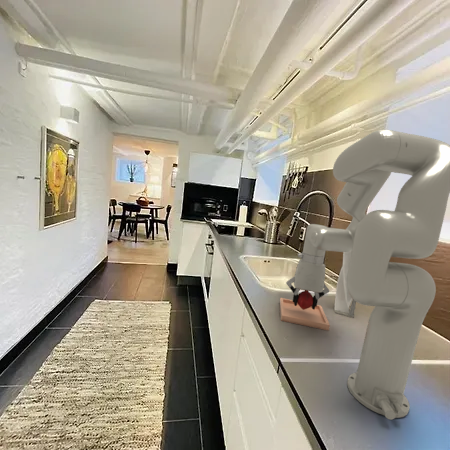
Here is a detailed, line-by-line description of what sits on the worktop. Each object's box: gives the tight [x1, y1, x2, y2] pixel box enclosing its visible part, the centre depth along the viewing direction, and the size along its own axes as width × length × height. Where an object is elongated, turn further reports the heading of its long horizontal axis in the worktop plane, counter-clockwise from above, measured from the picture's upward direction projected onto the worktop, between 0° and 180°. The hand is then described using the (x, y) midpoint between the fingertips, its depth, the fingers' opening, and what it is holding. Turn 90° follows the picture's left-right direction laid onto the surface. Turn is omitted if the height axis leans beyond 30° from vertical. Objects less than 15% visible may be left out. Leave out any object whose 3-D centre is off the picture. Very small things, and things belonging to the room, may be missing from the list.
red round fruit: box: [297, 290, 314, 310], centre depth 98 cm, size 6×6×8 cm
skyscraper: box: [333, 250, 357, 318], centre depth 107 cm, size 8×8×28 cm
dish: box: [279, 297, 331, 332], centre depth 99 cm, size 16×16×2 cm
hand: (304, 305), depth 99 cm, fingers closed on red round fruit, 5 cm apart
